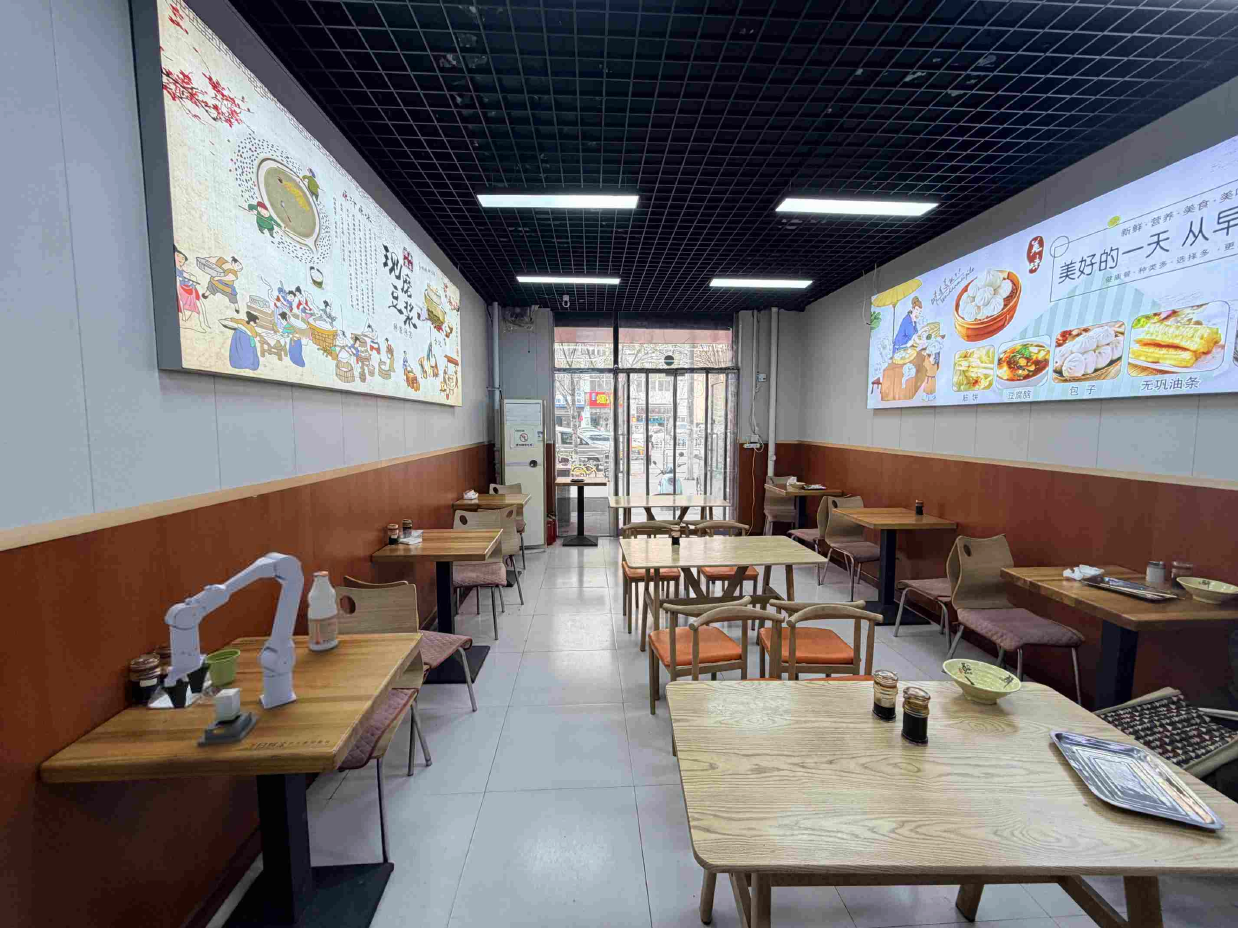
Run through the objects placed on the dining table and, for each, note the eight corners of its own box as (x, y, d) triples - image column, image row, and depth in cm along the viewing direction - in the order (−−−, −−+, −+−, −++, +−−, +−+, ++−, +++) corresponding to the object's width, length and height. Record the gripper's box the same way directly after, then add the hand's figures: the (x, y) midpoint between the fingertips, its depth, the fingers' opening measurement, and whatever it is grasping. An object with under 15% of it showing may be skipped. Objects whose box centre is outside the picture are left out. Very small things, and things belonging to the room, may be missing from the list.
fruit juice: (303, 651, 189) (300, 576, 188) (319, 640, 199) (316, 569, 197) (329, 651, 189) (326, 576, 187) (343, 640, 199) (340, 569, 197)
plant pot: (198, 690, 161) (196, 663, 160) (215, 676, 170) (214, 650, 170) (231, 687, 163) (230, 660, 162) (247, 673, 172) (245, 648, 171)
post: (223, 712, 139) (222, 689, 139) (240, 710, 140) (239, 687, 140) (215, 721, 135) (214, 697, 135) (233, 719, 136) (231, 695, 136)
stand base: (218, 724, 142) (217, 712, 141) (258, 719, 144) (258, 707, 144) (196, 746, 132) (196, 732, 132) (241, 740, 134) (240, 727, 134)
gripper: (184, 640, 141) (187, 688, 141) (148, 663, 127) (152, 716, 127) (214, 637, 142) (216, 685, 143) (182, 660, 128) (185, 713, 129)
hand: (188, 699), depth 135 cm, fingers open, 7 cm apart
